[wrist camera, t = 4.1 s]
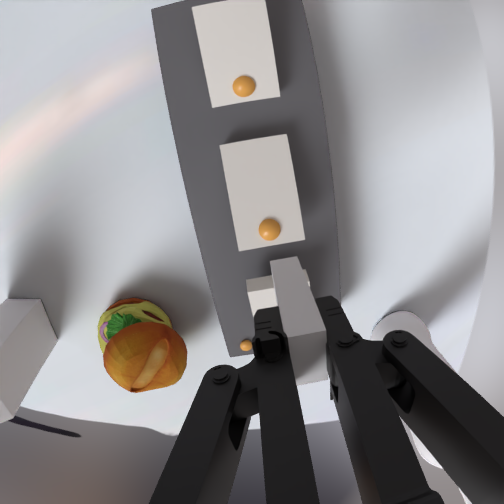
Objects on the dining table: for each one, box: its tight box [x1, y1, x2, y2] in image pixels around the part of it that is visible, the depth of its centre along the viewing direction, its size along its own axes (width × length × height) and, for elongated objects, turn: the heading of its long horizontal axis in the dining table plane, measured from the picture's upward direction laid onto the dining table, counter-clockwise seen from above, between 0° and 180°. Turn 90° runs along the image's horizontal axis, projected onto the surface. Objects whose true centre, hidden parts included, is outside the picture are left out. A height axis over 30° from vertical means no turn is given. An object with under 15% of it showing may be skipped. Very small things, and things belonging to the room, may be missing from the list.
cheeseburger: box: [98, 298, 187, 393], centre depth 33 cm, size 10×11×10 cm
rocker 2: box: [220, 134, 305, 251], centre depth 23 cm, size 8×5×2 cm, turn 10°
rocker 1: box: [192, 0, 280, 108], centre depth 19 cm, size 8×5×2 cm, turn 10°
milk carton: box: [0, 299, 58, 423], centre depth 27 cm, size 7×7×19 cm
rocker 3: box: [246, 269, 310, 318], centre depth 28 cm, size 8×5×2 cm, turn 10°
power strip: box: [151, 0, 341, 357], centre depth 26 cm, size 40×12×6 cm, turn 10°
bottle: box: [370, 311, 472, 504], centre depth 25 cm, size 8×8×30 cm
